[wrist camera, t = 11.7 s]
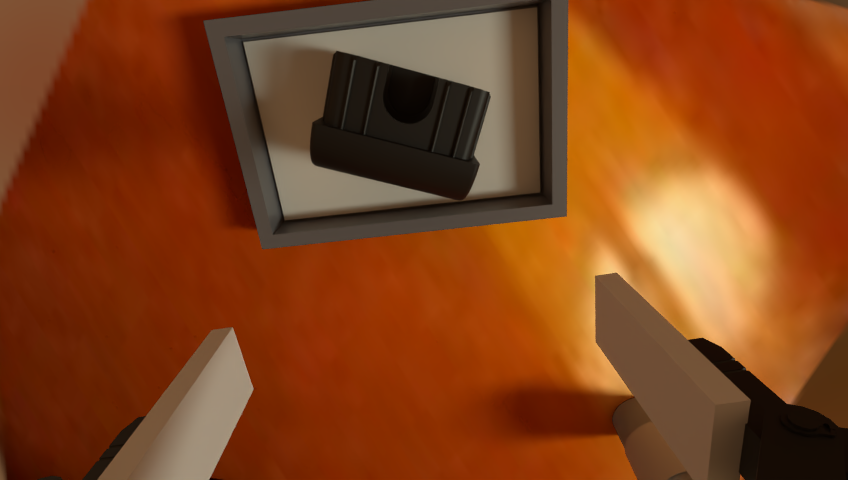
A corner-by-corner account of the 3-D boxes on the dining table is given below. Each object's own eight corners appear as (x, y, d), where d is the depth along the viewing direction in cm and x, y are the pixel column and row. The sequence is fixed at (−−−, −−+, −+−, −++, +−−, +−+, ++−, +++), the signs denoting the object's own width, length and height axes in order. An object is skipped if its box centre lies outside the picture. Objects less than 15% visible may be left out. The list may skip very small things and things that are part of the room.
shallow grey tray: (276, 232, 36) (262, 249, 32) (226, 25, 30) (203, 20, 27) (552, 202, 35) (566, 216, 32) (551, -14, 30) (568, -24, 27)
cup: (594, 398, 42) (658, 518, 31) (664, 377, 42) (755, 491, 30) (610, 452, 45) (675, 580, 34) (676, 432, 44) (765, 557, 33)
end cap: (324, 153, 33) (302, 174, 26) (342, 51, 30) (323, 47, 24) (456, 186, 34) (466, 213, 27) (484, 89, 31) (501, 95, 25)
